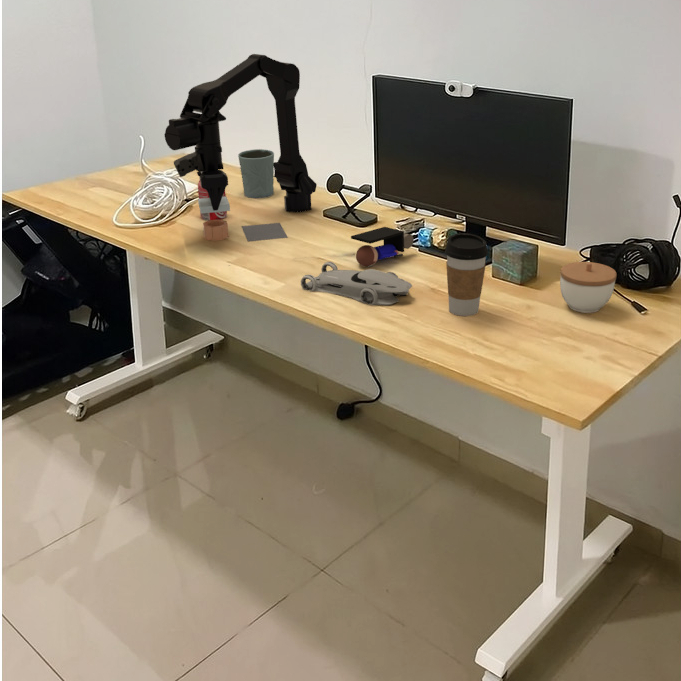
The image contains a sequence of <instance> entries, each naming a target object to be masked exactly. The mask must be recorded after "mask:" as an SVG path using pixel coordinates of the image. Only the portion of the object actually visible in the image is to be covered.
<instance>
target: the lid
mask: <svg viewBox="0 0 681 681" xmlns="http://www.w3.org/2000/svg"><path fill="white" fill-rule="evenodd" d="M197 202H198V208H199V213H200V212H201V213H212V212H223V211H227V212H230V211H231V206H230V202H229V199H228V197H227V195H226V196H224V197H222V199H221V202H220V205H219V208H218V210H215V211H214V210H213V208H212V204H211V201H210V198H201V199H199V198H197Z"/></svg>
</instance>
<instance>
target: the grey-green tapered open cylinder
mask: <svg viewBox="0 0 681 681" xmlns="http://www.w3.org/2000/svg"><path fill="white" fill-rule="evenodd" d="M237 157H238V161H239V166H240V168H239V169H240V174H241V180H242V188H243V194H244V196H245V197H247V198H248V199H265V198H270V197H272V196H273V195H274V193H275V192H274V190H275V189H274V182H275V180H274V179H275V177H274V174H275V170H274V166H273V165H274V161H275V153H274V151H272V150H270V149H269V150H268V149H261V148H259V149H258V148H257V149H249V150H244V151H241V152H239V153H238V155H237Z"/></svg>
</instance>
